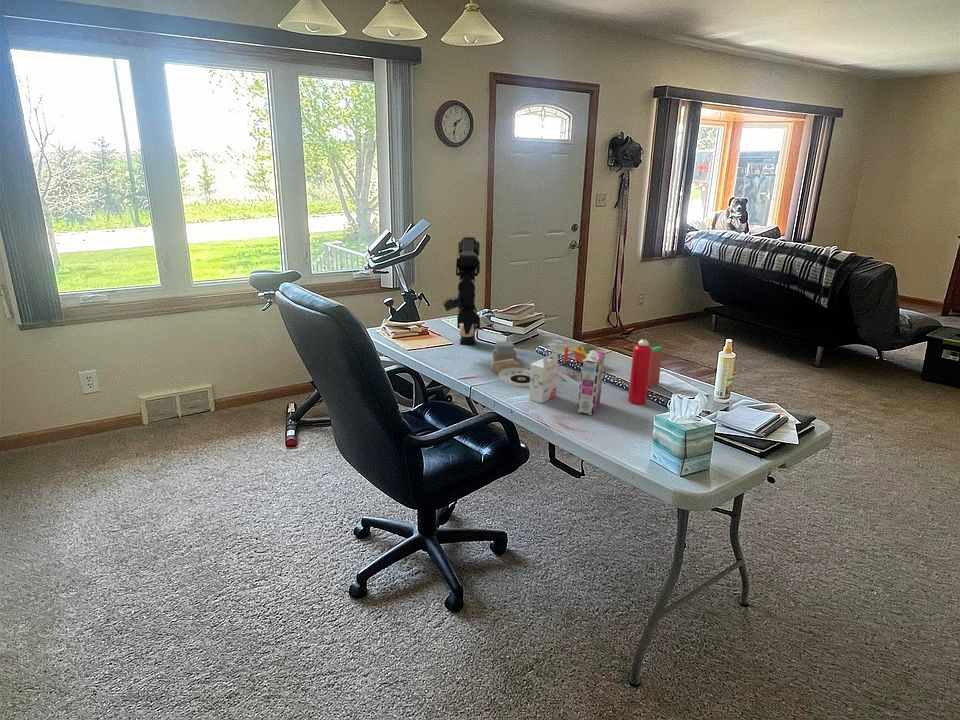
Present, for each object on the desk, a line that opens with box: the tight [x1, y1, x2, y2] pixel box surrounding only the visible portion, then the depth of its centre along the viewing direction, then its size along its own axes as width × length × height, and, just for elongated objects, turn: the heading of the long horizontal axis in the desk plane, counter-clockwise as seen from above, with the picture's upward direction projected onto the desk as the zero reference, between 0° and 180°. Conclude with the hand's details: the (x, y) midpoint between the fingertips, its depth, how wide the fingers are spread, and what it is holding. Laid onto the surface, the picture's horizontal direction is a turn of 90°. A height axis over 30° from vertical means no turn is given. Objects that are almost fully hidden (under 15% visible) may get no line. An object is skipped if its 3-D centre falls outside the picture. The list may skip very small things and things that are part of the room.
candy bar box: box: [577, 350, 606, 416], centre depth 170 cm, size 11×5×16 cm, turn 159°
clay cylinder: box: [459, 323, 474, 337], centre depth 210 cm, size 5×5×4 cm
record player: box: [490, 359, 530, 388], centre depth 196 cm, size 12×3×20 cm
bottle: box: [627, 338, 653, 406], centre depth 175 cm, size 5×6×20 cm
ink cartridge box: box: [528, 351, 559, 404], centre depth 177 cm, size 9×5×15 cm, turn 143°
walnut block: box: [492, 348, 518, 362], centre depth 212 cm, size 8×8×4 cm
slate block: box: [495, 340, 515, 356], centre depth 211 cm, size 6×6×4 cm
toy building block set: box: [562, 343, 663, 388], centre depth 201 cm, size 12×35×14 cm, turn 37°
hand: (466, 332), depth 210 cm, fingers closed on clay cylinder, 5 cm apart
